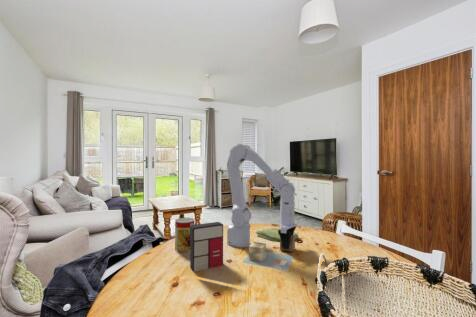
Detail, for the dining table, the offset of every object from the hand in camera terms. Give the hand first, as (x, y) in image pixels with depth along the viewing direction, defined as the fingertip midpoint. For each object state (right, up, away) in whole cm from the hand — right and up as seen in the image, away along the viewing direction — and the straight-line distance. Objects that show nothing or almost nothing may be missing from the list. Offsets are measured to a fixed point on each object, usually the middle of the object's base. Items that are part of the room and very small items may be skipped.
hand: (287, 246), depth 95 cm
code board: (-9, -2, -9) cm, 13 cm away
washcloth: (-1, -3, +18) cm, 19 cm away
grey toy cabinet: (-31, -2, -15) cm, 34 cm away
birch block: (-13, -2, -8) cm, 15 cm away
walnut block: (0, -1, 0) cm, 1 cm away
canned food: (-43, -3, +4) cm, 43 cm away
